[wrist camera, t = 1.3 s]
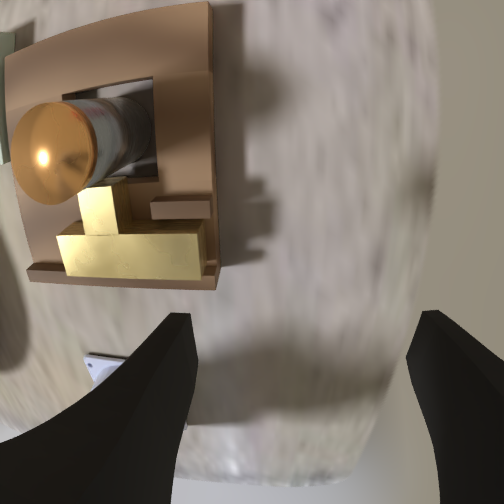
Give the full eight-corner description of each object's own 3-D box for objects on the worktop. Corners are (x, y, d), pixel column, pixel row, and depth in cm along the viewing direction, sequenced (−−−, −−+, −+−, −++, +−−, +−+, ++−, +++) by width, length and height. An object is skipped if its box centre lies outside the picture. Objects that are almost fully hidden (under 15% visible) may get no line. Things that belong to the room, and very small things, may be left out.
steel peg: (153, 163, 17) (94, 201, 10) (92, 168, 17) (19, 208, 11) (149, 92, 15) (83, 92, 9) (86, 103, 15) (6, 115, 9)
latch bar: (207, 261, 18) (201, 280, 16) (82, 259, 18) (67, 276, 16) (201, 172, 15) (192, 181, 14) (66, 181, 16) (47, 192, 14)
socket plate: (221, 267, 19) (215, 290, 17) (47, 264, 20) (30, 281, 18) (212, 9, 13) (204, -5, 11) (18, 57, 13) (-6, 56, 11)
